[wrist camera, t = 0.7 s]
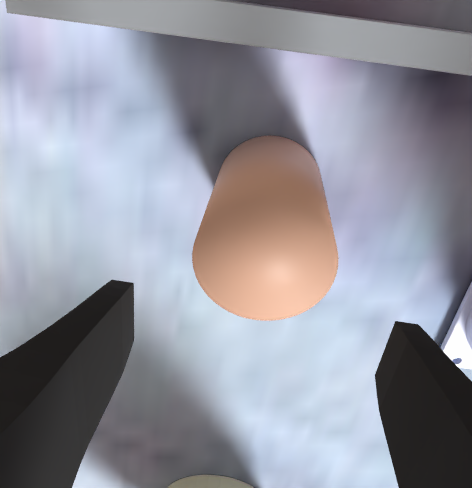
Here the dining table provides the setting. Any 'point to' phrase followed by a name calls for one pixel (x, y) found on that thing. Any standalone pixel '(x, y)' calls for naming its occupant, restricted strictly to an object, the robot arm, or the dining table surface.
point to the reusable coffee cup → (209, 482)
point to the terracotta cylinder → (266, 232)
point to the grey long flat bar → (271, 29)
